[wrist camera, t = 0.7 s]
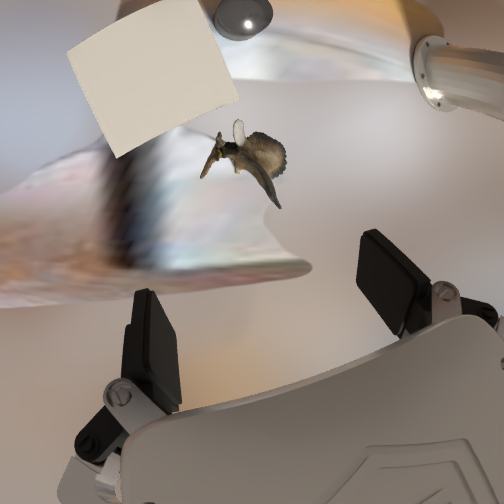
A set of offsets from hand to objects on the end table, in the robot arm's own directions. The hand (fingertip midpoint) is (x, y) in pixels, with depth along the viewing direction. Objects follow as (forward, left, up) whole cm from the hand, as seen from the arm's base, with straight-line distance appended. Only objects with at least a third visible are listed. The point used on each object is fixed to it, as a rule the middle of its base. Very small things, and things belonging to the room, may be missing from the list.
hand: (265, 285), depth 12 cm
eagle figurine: (-4, +1, -21) cm, 22 cm away
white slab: (+2, -12, -21) cm, 24 cm away
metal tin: (-8, -14, -21) cm, 26 cm away
